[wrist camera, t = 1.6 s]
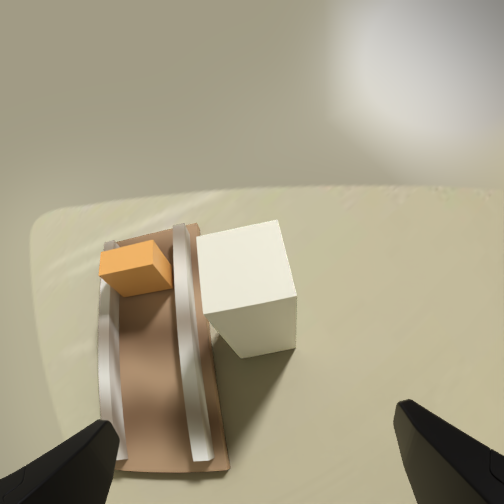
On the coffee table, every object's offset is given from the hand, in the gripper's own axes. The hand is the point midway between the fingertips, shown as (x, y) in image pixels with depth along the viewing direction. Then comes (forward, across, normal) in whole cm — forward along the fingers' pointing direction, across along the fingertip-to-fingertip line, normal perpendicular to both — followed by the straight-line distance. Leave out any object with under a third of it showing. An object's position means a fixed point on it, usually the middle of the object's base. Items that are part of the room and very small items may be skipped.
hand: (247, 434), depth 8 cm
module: (+14, 0, +4) cm, 15 cm away
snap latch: (+16, +9, 0) cm, 18 cm away
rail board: (+13, +9, +4) cm, 17 cm away
